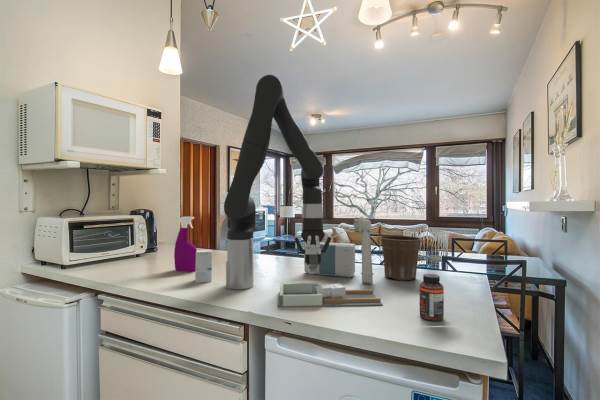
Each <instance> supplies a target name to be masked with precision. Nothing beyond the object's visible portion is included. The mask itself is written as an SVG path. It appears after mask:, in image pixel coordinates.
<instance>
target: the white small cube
mask: <svg viewBox="0 0 600 400" xmlns="http://www.w3.org/2000/svg"><path fill="white" fill-rule="evenodd" d="M327 285H328V286H329V287H331V298H345V290H346V286H344V285H342V284H341V283H331V284H330V283H329V284H327Z"/></svg>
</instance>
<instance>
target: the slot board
mask: <svg viewBox="0 0 600 400" xmlns="http://www.w3.org/2000/svg"><path fill="white" fill-rule="evenodd" d="M373 292H374V290H373V289H345V298H324V301H322V305H315V306H280V291H278V300H277V307H278V308H319V307H320V308H321V307H322V308H324V307H326V308H327V307H334V308H335V307H374V306H375V307H377V306H378V307H379V306H380V307H383V305H384V304H383V303H382V302H381V301H382V300H381V298H380V297H377V296H376V295H375V294H374V293H373ZM300 294H312V293H283V295H300Z"/></svg>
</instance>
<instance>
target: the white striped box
mask: <svg viewBox="0 0 600 400" xmlns="http://www.w3.org/2000/svg"><path fill="white" fill-rule="evenodd" d="M352 229H353V227H350V228H348V229H346V230H344V231H342V232H341V231H340V233H337V234H335V235H333V236H330V237H331V239H333V238H335V237H337V236H339V235H341V234H343V233H345V232H347V231H349V230H352ZM324 244H325V240H321V242H320V249H322V248H323V246H324ZM303 247H304V248H303V249H304V250H305V248H306V243H304V245H303ZM309 254H317V248H316V245H314V244H313V245H310V248H309ZM303 258H304V259H303V265H304V266H303V268H304V270H303V271H304V273H306V274H309V268H308V265H307V263H305V254H304V253H303ZM355 273H356V244H355V243H345V242H343V243H342V242H330V243H329V246H328V248H327V250H326V252H325V253H322V254H321V263H319V265H318V266H317V269H316V273H315V274H314V275H323V276H333V277H342V278H352V277H353V276H354V275H355Z"/></svg>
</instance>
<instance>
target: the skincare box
mask: <svg viewBox="0 0 600 400" xmlns="http://www.w3.org/2000/svg"><path fill="white" fill-rule="evenodd" d="M213 254H214V253H213V249H202V250H198V249H197V251H196V271H195V272H194V273H195V277H194V278H195V281H194V283H210V282H212V280H213Z"/></svg>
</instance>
